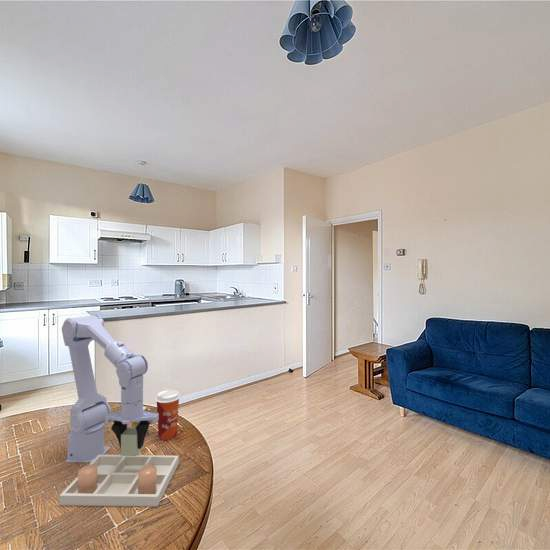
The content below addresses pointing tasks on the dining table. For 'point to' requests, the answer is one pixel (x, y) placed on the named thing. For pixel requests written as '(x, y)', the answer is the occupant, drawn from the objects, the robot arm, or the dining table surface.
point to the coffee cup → (167, 413)
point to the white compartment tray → (122, 481)
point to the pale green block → (129, 442)
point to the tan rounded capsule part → (147, 480)
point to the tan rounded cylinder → (88, 479)
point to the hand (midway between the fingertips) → (131, 446)
